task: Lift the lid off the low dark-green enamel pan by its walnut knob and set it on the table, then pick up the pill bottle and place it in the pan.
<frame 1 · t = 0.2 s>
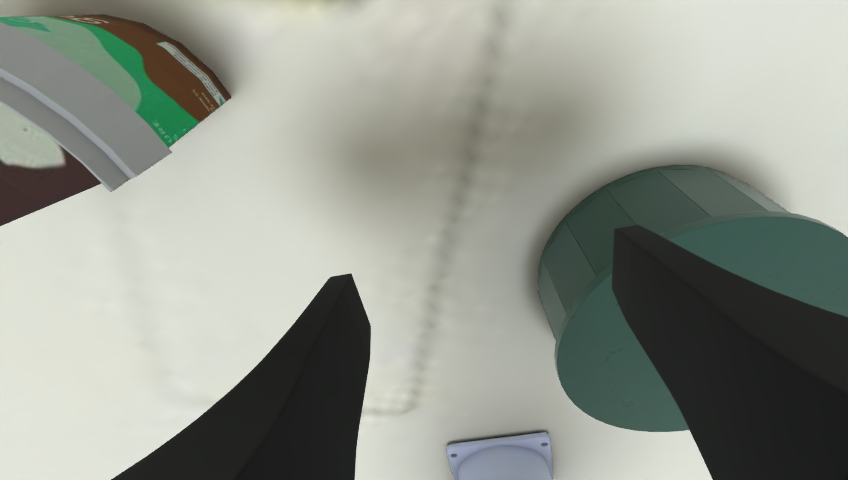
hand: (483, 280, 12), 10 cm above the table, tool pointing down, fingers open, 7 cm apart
pan: (645, 265, 24), on the table
pan lid: (699, 336, 20), point 5 cm above the table, touching pan
food container: (98, 68, 18), on the table
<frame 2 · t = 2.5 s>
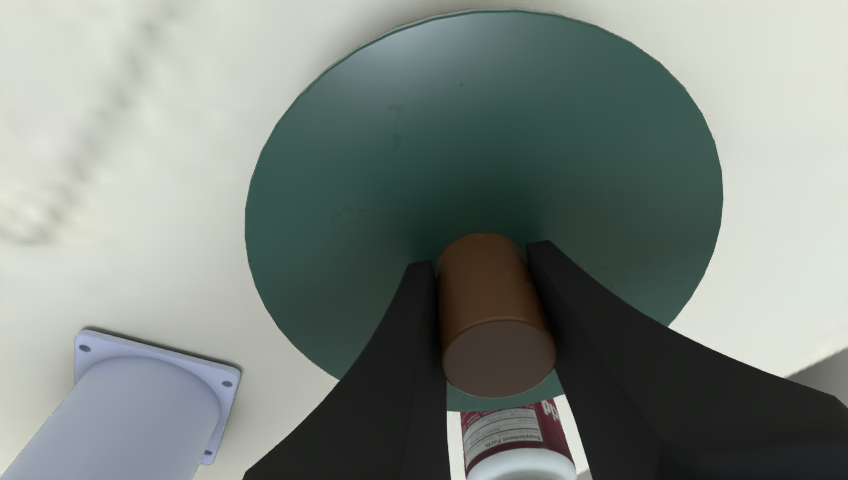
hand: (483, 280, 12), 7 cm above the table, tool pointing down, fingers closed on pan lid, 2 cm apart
pill bottle: (499, 368, 24), on the table
pan lid: (478, 259, 13), point 5 cm above the table, touching gripper, pan
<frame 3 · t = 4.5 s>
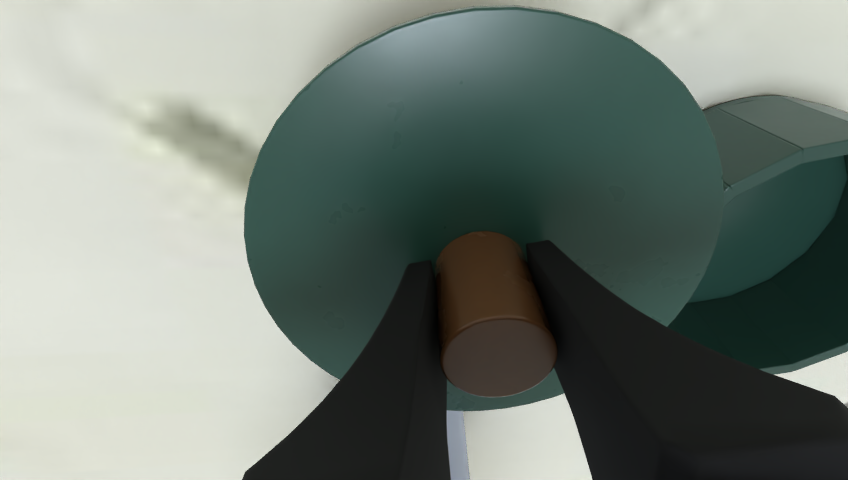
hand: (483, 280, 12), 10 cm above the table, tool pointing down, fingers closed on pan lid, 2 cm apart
pan: (718, 214, 22), on the table
pan lid: (478, 258, 13), point 9 cm above the table, touching gripper
when the fingers open (2 cm above the table, at t = 6.8 s): pan lid stays where it is, point 1 cm above the table.
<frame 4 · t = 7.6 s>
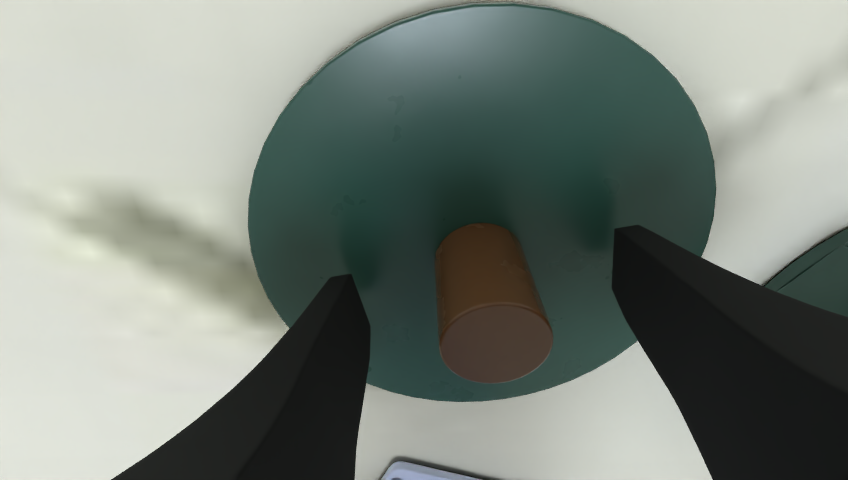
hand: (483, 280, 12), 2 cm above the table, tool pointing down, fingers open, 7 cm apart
pan lid: (476, 250, 13), point 1 cm above the table
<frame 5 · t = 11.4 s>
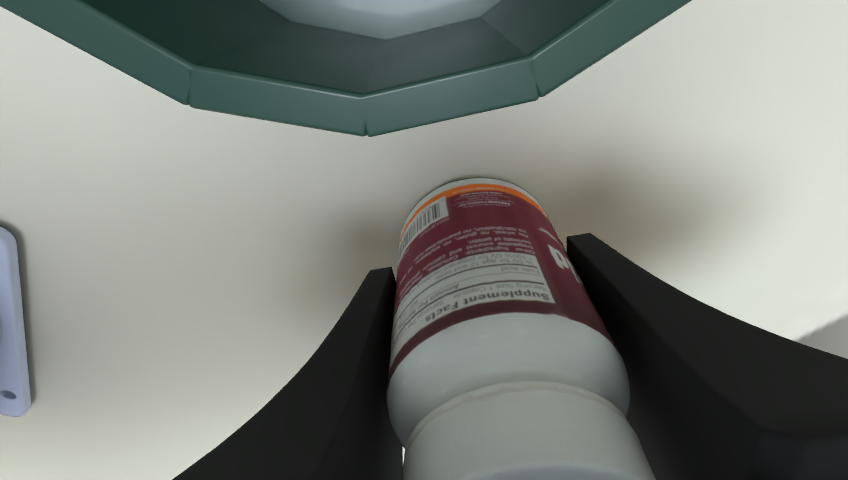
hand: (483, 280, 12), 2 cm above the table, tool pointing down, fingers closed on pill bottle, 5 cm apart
pill bottle: (473, 237, 14), on the table, touching gripper
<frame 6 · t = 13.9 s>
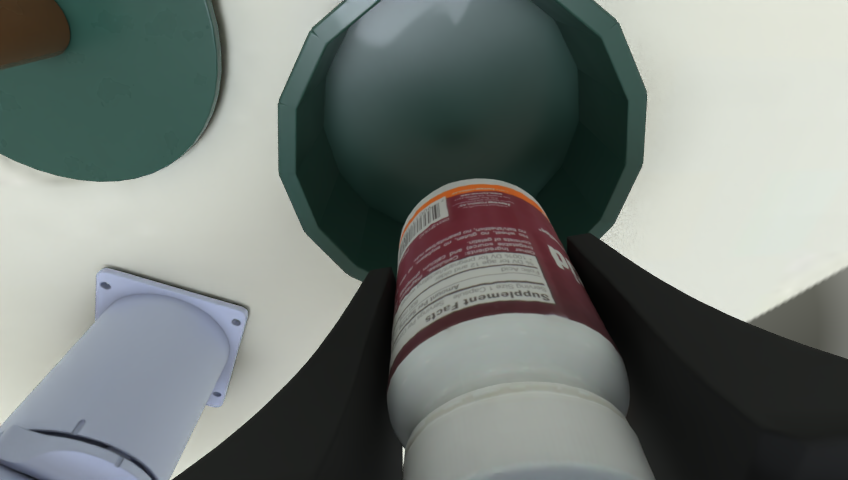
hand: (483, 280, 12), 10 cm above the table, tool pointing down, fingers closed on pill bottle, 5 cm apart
pan: (450, 120, 19), on the table
pill bottle: (473, 238, 14), point 7 cm above the table, touching gripper
pan lid: (42, 18, 16), point 1 cm above the table
when the fingers open (2 cm above the table, at t = 16.3 s): pill bottle stays where it is, resting on pan.
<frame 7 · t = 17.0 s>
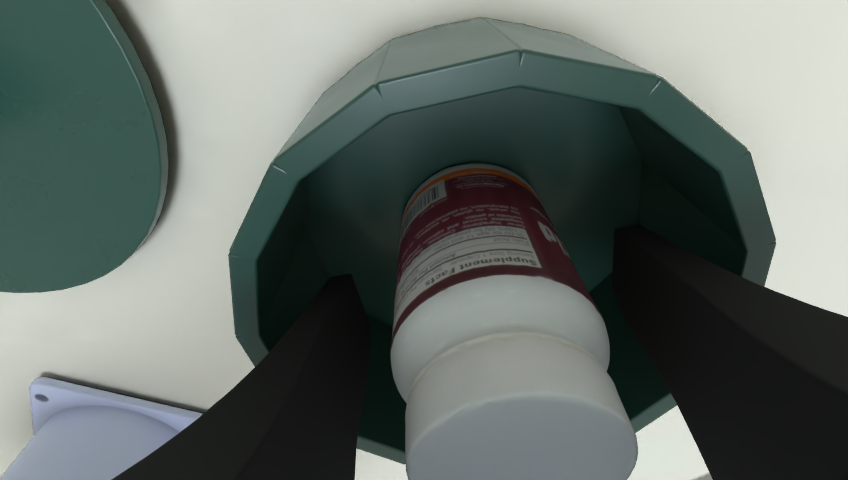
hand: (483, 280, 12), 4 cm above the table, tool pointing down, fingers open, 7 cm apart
pan: (470, 216, 15), on the table
pill bottle: (470, 221, 15), resting on pan
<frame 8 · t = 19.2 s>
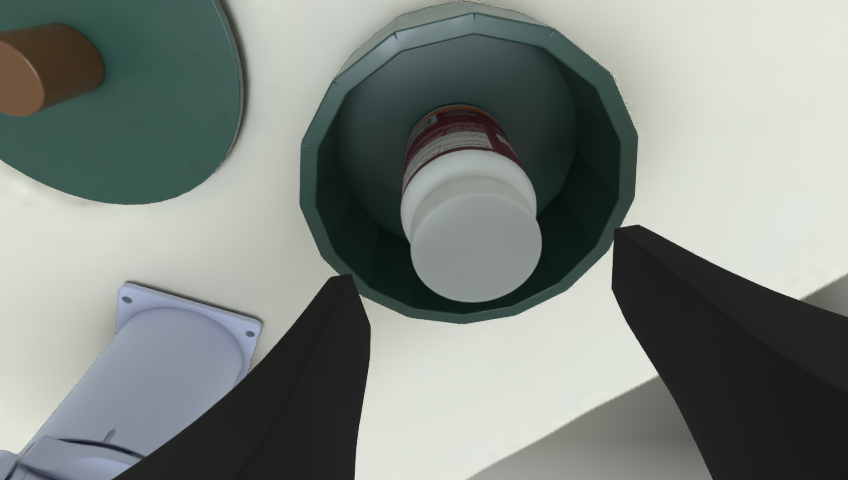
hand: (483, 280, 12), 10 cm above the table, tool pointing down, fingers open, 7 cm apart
pan: (456, 148, 20), on the table
pill bottle: (455, 150, 20), resting on pan
pan lid: (78, 57, 17), point 1 cm above the table
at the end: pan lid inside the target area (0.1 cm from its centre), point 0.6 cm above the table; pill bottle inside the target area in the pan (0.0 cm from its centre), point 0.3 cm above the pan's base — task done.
